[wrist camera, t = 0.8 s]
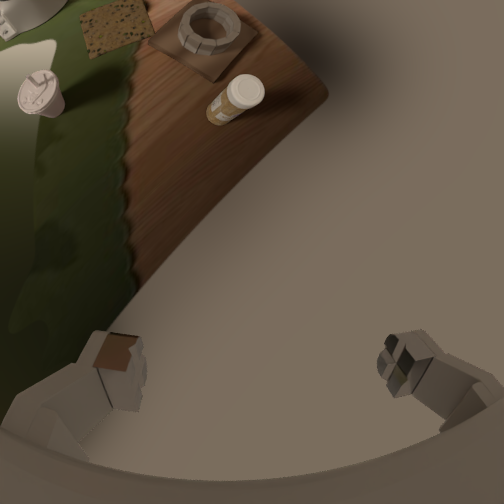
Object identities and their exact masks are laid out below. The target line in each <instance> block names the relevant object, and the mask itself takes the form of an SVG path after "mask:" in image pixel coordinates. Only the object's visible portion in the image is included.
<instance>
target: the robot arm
mask: <svg viewBox="0 0 504 504" xmlns="http://www.w3.org/2000/svg"><path fill="white" fill-rule="evenodd" d="M67 1H68V0H0V36H1V37H2V38H3V39H4V40H5V41H9V40H11V39H12V38H14V37H15V36H17V35H18V34H20V33H22V32H25V31H28V30H31V29H33V28H35V27H37V26H39V25H41V24H43V23H44V22H46V21H47V20H49V19H50V18H51V17H52V16H54V15H55V14H56V13H57V12H58V11H59V10H60V9H61V8H62V7H63V6H64V5H65V3H66V2H67ZM7 32H8V33H7ZM6 33H7V34H6ZM384 344H385V349H384V350H383V351H382V352H381V353H380V354H379V357H378V359H377V369H378V373H379V374H380V376H381V377H382V378H383V379H385V380H387V385H386V386H387V388H388V389H389V391H390V393H391V394H392V396H393V397H394V398H398V397H402V396H406V395H410V394H412V396H413V397H415V398H416V399H417V400H419V401H420V402H422V403H423V404H424V405H426V406H427V407H429V408H430V409H431V410H433V411H434V412H435V413H437V414H438V415H439V416H441V417H442V418H444V419H445V420H446V421H445V422H444V423H443V424H442V425H441V427H440V429H439V431H440V434H437V435H436V436H433V437H431V438H429V439H426V440H424V441H422V442H419V443H417V444H414V445H412V446H409V447H407V448H404V449H401V450H399V451H396V452H393V453H390V454H387V455H384V456H381V457H378V458H375V459H371V460H368V461H364V462H361V463H357V464H353V465H349V466H345V467H341V468H337V469H332V470H327V471H322V472H317V473H311V474H306V475H299V476H291V477H283V478H273V479H262V480H244V481H204V480H187V479H175V478H166V477H157V476H150V475H144V474H138V473H133V472H127V471H122V470H117V469H113V468H109V467H104V466H101V465H97V464H93V463H90V462H89V457H88V455H87V454H86V453H85V452H84V450H83V449H82V448H81V446H80V445H79V444H78V442H80V441H81V440H82V439H83V438H84V437H85V436H86V435H87V434H88V433H89V432H90V431H91V430H92V429H93V428H94V427H96V426H97V425H98V424H99V423H100V422H101V421H102V420H103V419H104V418H105V417H106V416H107V415H108V414H109V413H110V412H111V411H112V410H113V409H118V410H125V411H133V412H139V409H140V404H141V400H142V393H141V388H142V387H143V386H145V382H146V377H147V363H146V358H145V356H144V355H143V354H142V350H143V342H142V338H141V337H140V336H134V335H127V334H120V333H113V332H105V331H98V330H96V331H94V332H93V333H92V335H91V337H90V338H89V340H88V342H87V344H86V346H85V347H84V349H83V351H82V353H81V355H80V357H79V359H78V361H77V363H76V364H74V363H71V364H69V365H68V366H66V367H64V368H63V369H61V370H59V371H57V372H56V373H54V374H52V375H51V376H49V377H47V378H46V379H44V380H42V381H40V382H38V383H37V384H35V385H33V386H32V387H30V388H28V389H26V390H25V391H23V392H21V393H20V394H18V395H16V397H15V399H14V401H13V403H12V405H11V406H10V408H9V410H8V412H7V414H6V416H5V418H4V420H3V422H2V424H1V426H0V504H504V387H503V386H502V385H501V384H500V383H499V382H498V380H496V378H495V377H494V376H493V375H492V374H491V373H488V372H486V371H484V370H482V369H480V368H478V367H476V366H473V365H472V364H469V363H467V362H465V361H463V360H461V359H459V358H457V357H454V356H452V355H450V354H445V353H444V352H443V350H442V349H441V348H440V347H439V346H438V345H437V344H436V343H435V341H433V339H432V338H431V337H430V336H429V335H428V334H427V333H426V332H425V331H424V330H421V329H420V330H415V331H411V332H404V333H396V334H390V335H389V336H388V337H387V338H386V340H385V343H384Z"/></svg>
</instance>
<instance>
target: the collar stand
mask: <svg viewBox="0 0 504 504" xmlns="http://www.w3.org/2000/svg"><path fill="white" fill-rule="evenodd" d="M257 33H258V32H257V31H256V30H254V29H253V28H251V27H250V26H248V25H247V24H245V23H244V22H242V21H241V20H240V19H239V18H238V16H237V15H236V13H235V12H234V11H233V10H231V9H230V8H228V7H226V6H225V5H222V4H218V3H212V2H209V1H208V0H192V1H191V2H190V3H188V4H187V5H186V6H185V7H184V8H183V9H181V10H180V11H179V12H178V13H177V14H176V15H174V16H173V17H172V18H171V19H170V20H169V21H168V22H167V23H166V24H165V25H164V26H163V27H162V28H160V29H159V30H158V31H157V32H156V33H155V34H154V35H153V36H152V37H151V38H150V39H149V40H148V45H150V46H152V47H154V48H155V49H157V50H159V51H161V52H163V53H164V54H166V55H168V56H170V57H171V58H173V59H175V60H177V61H178V62H180V63H182V64H183V65H185V66H187V67H188V68H190V69H192V70H193V71H195V72H196V73H198V74H200V75H201V76H203V77H204V78H206V79H207V80H209V81H211V82H212V83H214V82H215V80H216V79H217V78H218V77H219V76H220V74H221V73H222V72H223V71H224V70H225V68H226V67H227V66H228V65H229V64H230V63H231V61H232V60H233V59H234V58H235V57H236V56H237V55H238V54H239V52H240V51H241V50H242V49H243V48H244V47H245V46H246V45H247V44H248V43H249V42H250V41H251V40H252V39H253V38H254V36H255V35H256V34H257Z"/></svg>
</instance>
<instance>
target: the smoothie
mask: <svg viewBox="0 0 504 504" xmlns="http://www.w3.org/2000/svg"><path fill="white" fill-rule="evenodd" d="M26 78H27V79H26V80H25V81H24V83H23V84H22V86H21V88H20V90H19V93H18V104H19V106H20V108H21V109H22V110H23V111H24V112H25V113H28V114H40V115H43V116H47V117H50V118H55V117H57V116H59V115H60V114H61V113H62V112H63V110H64V107H65V101H64V99H63V96H62V94H61V91H60V89H59V82H58V78H57V76H56V75H55V74H54V73H53V72H52V71H50V70H39V71H36V72H34V73H33V74H32V75H29V74H27V75H26Z"/></svg>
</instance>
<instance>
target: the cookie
mask: <svg viewBox="0 0 504 504" xmlns="http://www.w3.org/2000/svg"><path fill="white" fill-rule="evenodd" d="M80 23H81V27H82V29H83V34H84V38H85V41H86V45H87V49H88V53H89V58H90V59H93V58H96V57H98V56H100V55H102V54H105V53H107V52H110V51H112V50H115V49H117V48H120V47H122V46H125V45H128V44H131V43H133V42H137V41H140V40H142V39H145V38H148V37H151V36H153V35H154V34H155V33H154V29H153V26H152V24H151V21H150V19H149V16H148V14H147V11H146V8H145V6H144V3H143V0H119V1H116V2H112V3H110V4H107V5H104V6H101V7H98V8H95V9H92V10H91V11H88V12H86V13H84V14H82V15H80Z"/></svg>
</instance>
